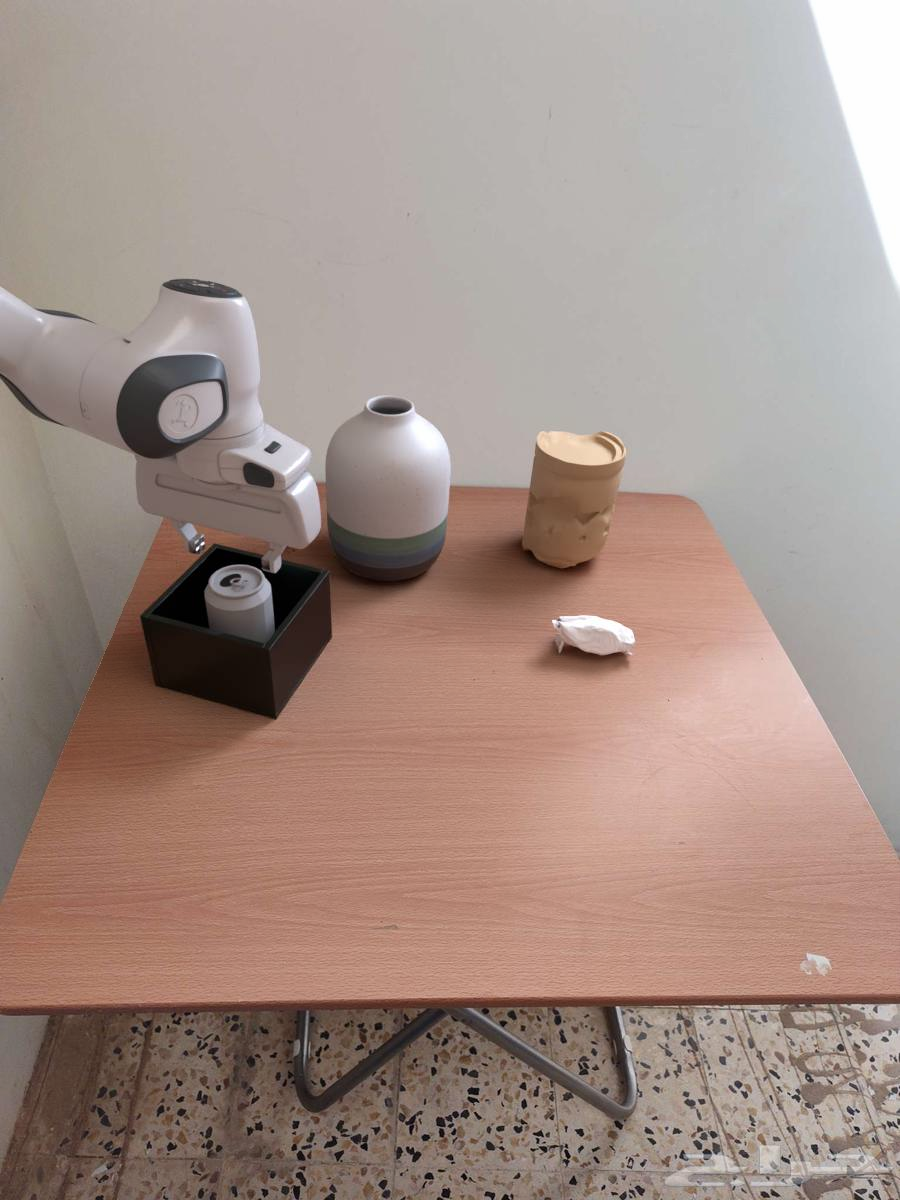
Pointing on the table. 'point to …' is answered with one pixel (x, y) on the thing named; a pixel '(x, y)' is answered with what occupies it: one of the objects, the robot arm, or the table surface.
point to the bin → (232, 663)
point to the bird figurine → (594, 634)
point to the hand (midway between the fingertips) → (233, 559)
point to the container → (572, 495)
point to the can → (240, 603)
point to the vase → (387, 491)
